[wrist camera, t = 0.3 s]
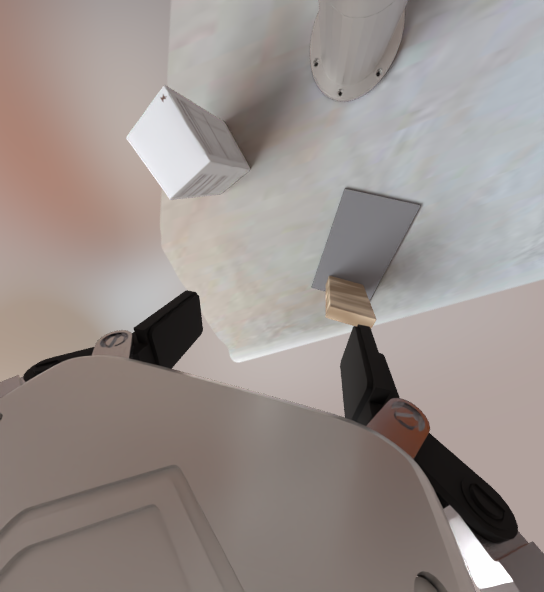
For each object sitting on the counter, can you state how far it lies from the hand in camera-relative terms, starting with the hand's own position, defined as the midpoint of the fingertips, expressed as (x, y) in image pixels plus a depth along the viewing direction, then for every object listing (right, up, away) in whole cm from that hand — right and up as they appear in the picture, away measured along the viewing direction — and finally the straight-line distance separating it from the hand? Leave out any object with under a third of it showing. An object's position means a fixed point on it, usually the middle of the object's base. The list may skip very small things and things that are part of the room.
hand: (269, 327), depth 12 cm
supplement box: (-10, +30, +29) cm, 43 cm away
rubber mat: (+19, +11, +31) cm, 38 cm away
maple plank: (+17, +5, +35) cm, 39 cm away
